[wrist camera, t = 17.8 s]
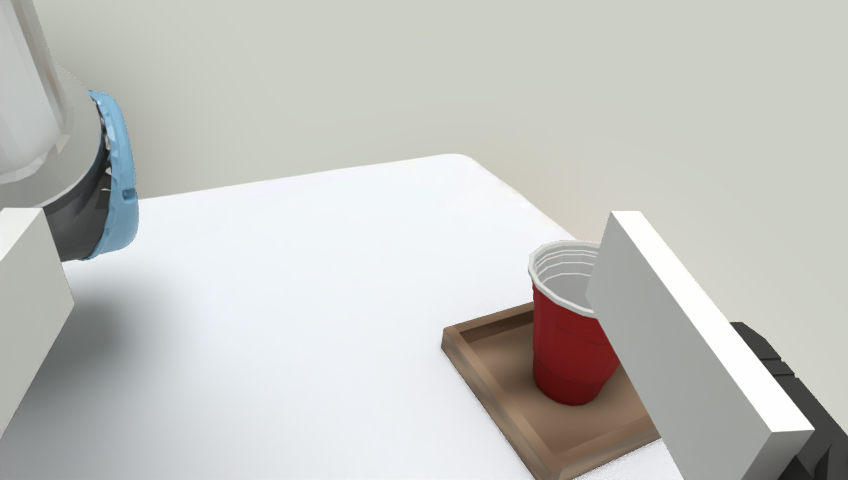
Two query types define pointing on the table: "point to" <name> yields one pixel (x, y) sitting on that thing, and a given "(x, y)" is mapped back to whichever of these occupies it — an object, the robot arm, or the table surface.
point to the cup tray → (544, 400)
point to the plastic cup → (568, 324)
